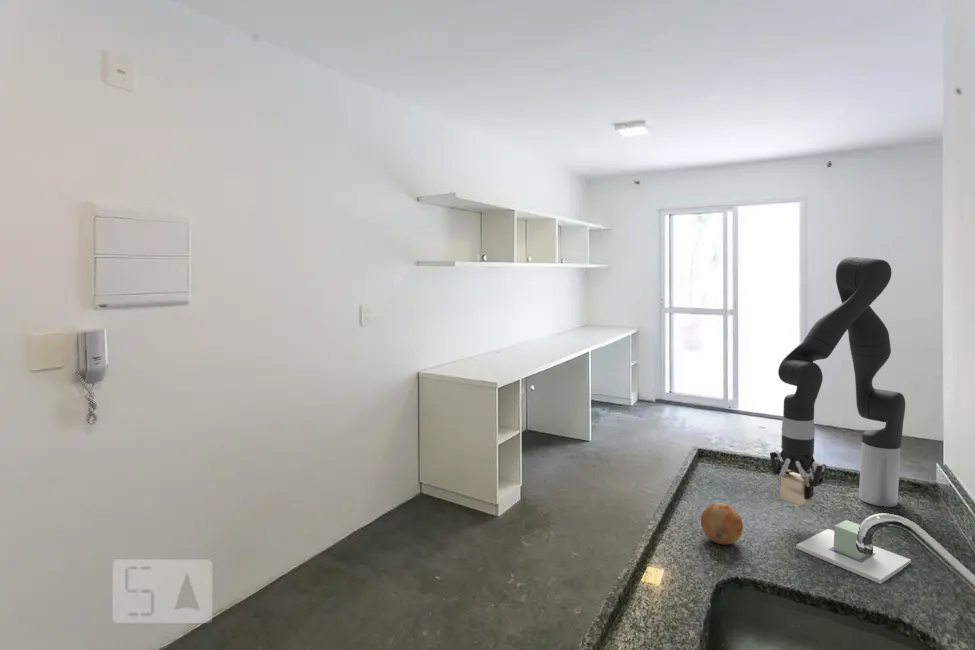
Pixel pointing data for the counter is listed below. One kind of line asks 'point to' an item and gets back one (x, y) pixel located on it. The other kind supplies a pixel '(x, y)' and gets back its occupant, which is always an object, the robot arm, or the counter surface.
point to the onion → (721, 523)
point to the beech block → (793, 488)
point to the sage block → (847, 539)
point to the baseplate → (869, 566)
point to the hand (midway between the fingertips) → (796, 494)
